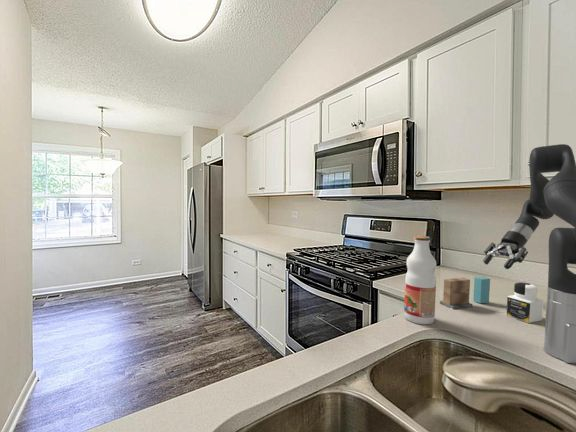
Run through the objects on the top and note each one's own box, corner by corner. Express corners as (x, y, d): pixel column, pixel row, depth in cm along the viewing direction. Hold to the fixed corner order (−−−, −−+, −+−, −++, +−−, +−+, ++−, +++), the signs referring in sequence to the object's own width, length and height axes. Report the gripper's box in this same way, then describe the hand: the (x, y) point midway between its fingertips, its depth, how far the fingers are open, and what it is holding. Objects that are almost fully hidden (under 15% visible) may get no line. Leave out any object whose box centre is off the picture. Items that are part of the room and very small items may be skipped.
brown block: (458, 301, 116) (460, 276, 115) (472, 306, 110) (473, 280, 109) (439, 303, 113) (441, 278, 112) (452, 309, 107) (453, 282, 107)
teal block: (481, 299, 117) (483, 276, 117) (488, 302, 114) (490, 278, 114) (473, 300, 116) (474, 277, 115) (480, 303, 113) (481, 279, 113)
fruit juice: (435, 327, 91) (439, 239, 90) (403, 321, 95) (406, 237, 93) (433, 316, 100) (437, 236, 98) (404, 312, 103) (407, 234, 102)
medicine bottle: (505, 315, 102) (507, 282, 101) (519, 313, 104) (521, 280, 104) (528, 323, 95) (530, 287, 95) (542, 320, 98) (544, 285, 97)
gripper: (495, 228, 125) (474, 255, 122) (531, 232, 111) (508, 262, 109) (504, 240, 127) (483, 267, 124) (540, 245, 113) (518, 275, 110)
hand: (495, 265), depth 116 cm, fingers open, 8 cm apart
